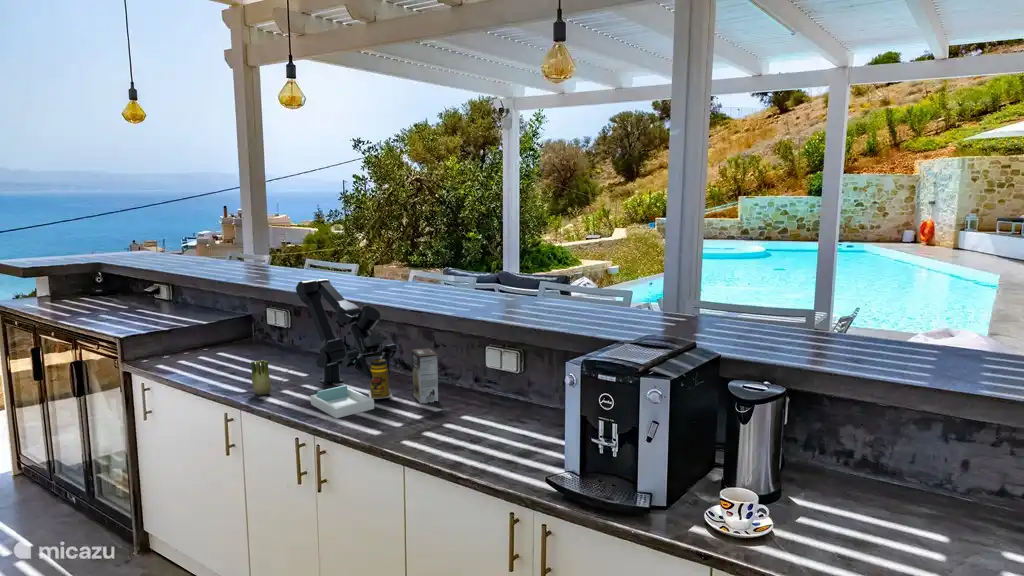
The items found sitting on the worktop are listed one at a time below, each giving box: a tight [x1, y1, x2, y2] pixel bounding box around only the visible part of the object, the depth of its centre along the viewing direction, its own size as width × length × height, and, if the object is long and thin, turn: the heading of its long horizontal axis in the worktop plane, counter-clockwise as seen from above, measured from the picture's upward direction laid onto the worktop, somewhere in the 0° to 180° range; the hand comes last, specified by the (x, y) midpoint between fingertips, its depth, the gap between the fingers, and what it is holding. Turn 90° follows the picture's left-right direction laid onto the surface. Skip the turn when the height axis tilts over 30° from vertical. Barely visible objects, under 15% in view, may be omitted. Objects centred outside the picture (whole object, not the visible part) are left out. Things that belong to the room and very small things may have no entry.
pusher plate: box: [316, 384, 348, 401], centre depth 213 cm, size 1×10×4 cm, turn 131°
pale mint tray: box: [310, 386, 375, 419], centre depth 209 cm, size 19×13×3 cm
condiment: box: [367, 358, 394, 400], centre depth 215 cm, size 7×8×12 cm
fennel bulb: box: [250, 359, 272, 396], centre depth 222 cm, size 6×5×12 cm
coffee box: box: [411, 347, 439, 405], centre depth 214 cm, size 9×6×16 cm
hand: (380, 376), depth 214 cm, fingers closed on condiment, 6 cm apart
